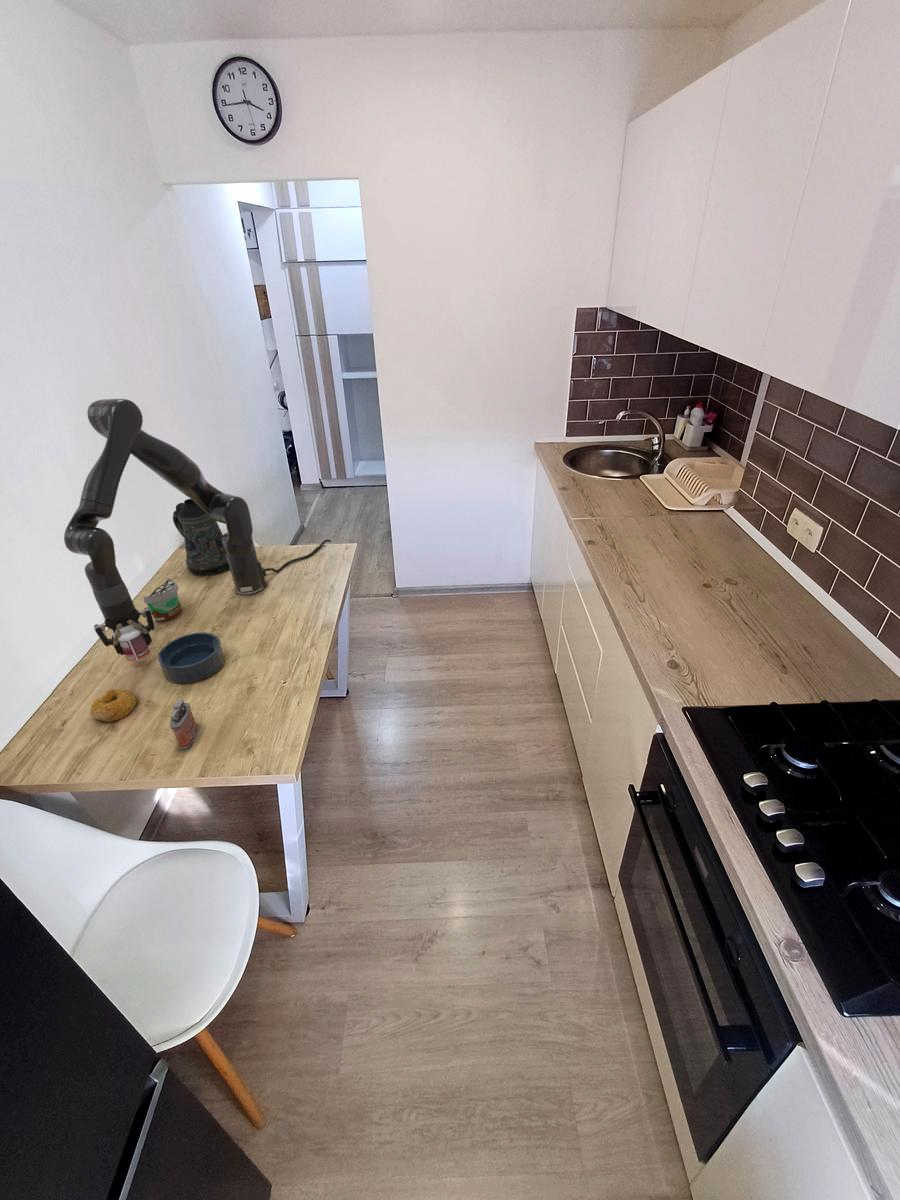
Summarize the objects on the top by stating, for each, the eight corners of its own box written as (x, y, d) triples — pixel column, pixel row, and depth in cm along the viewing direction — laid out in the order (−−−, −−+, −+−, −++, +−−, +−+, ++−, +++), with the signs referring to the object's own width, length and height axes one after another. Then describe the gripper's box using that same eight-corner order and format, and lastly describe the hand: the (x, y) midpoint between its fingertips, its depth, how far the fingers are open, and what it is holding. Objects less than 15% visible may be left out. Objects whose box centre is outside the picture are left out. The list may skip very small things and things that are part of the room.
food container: (170, 626, 175) (160, 599, 170) (153, 624, 176) (142, 597, 171) (193, 605, 185) (184, 578, 180) (176, 603, 187) (167, 577, 181)
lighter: (187, 726, 138) (174, 695, 133) (201, 725, 138) (189, 693, 133) (176, 751, 131) (162, 719, 126) (191, 750, 131) (178, 718, 126)
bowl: (215, 642, 167) (210, 625, 164) (233, 669, 156) (227, 651, 153) (159, 664, 159) (152, 647, 156) (173, 693, 148) (166, 675, 145)
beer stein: (227, 575, 201) (208, 509, 188) (173, 578, 201) (150, 512, 188) (241, 553, 215) (224, 491, 202) (190, 556, 215) (170, 493, 202)
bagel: (147, 697, 148) (141, 683, 145) (118, 727, 139) (111, 713, 136) (114, 693, 150) (108, 679, 147) (84, 722, 141) (76, 708, 138)
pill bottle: (150, 646, 162) (137, 614, 156) (151, 658, 157) (137, 626, 151) (126, 653, 160) (112, 621, 154) (126, 666, 155) (111, 633, 149)
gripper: (84, 614, 142) (109, 666, 151) (145, 593, 149) (166, 644, 158) (80, 601, 147) (104, 652, 156) (139, 582, 154) (159, 632, 163)
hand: (135, 648), depth 157 cm, fingers closed on pill bottle, 6 cm apart
